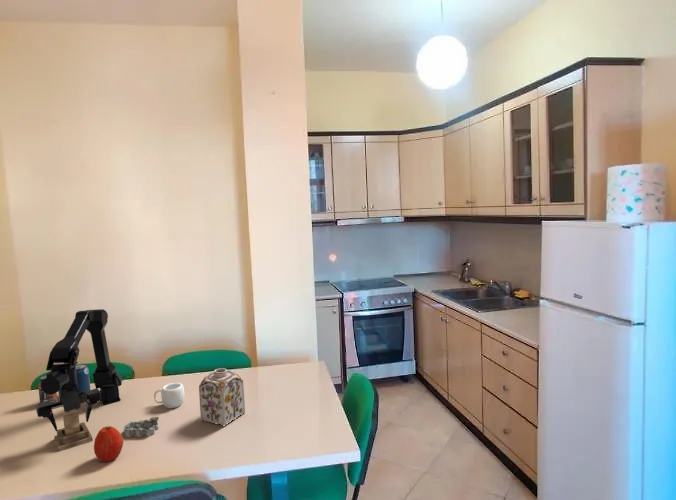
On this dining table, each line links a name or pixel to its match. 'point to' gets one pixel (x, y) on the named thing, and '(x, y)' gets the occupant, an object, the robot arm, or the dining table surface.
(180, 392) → the mug
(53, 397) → the supplement bottle
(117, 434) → the apple
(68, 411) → the robot arm
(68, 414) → the wooden dowel
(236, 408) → the decorative jar
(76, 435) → the walnut socket holder
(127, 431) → the egg carton
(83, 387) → the soda can
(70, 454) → the dining table surface
